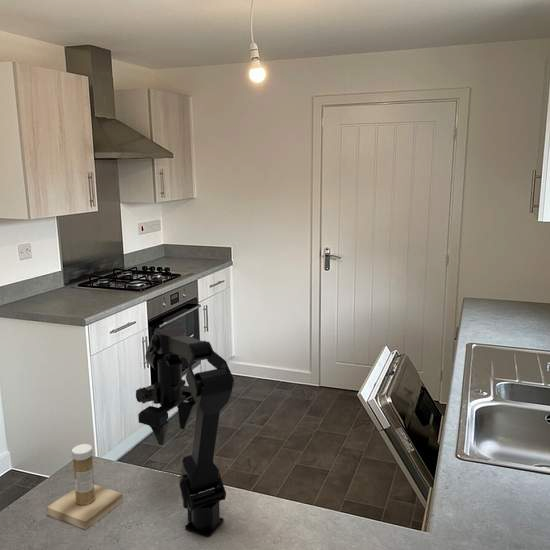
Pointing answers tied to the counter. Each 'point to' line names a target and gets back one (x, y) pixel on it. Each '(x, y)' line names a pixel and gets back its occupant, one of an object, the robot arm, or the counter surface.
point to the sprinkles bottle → (83, 474)
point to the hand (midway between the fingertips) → (172, 436)
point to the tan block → (84, 507)
